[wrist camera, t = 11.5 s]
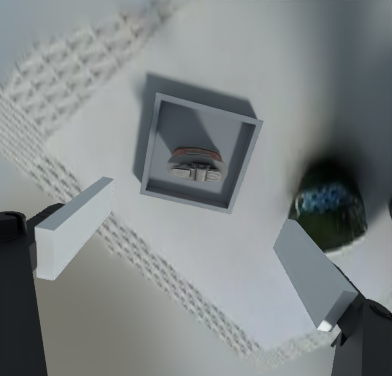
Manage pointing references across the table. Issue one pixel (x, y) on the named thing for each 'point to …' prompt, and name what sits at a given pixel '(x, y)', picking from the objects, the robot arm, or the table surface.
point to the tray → (204, 137)
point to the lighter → (197, 164)
